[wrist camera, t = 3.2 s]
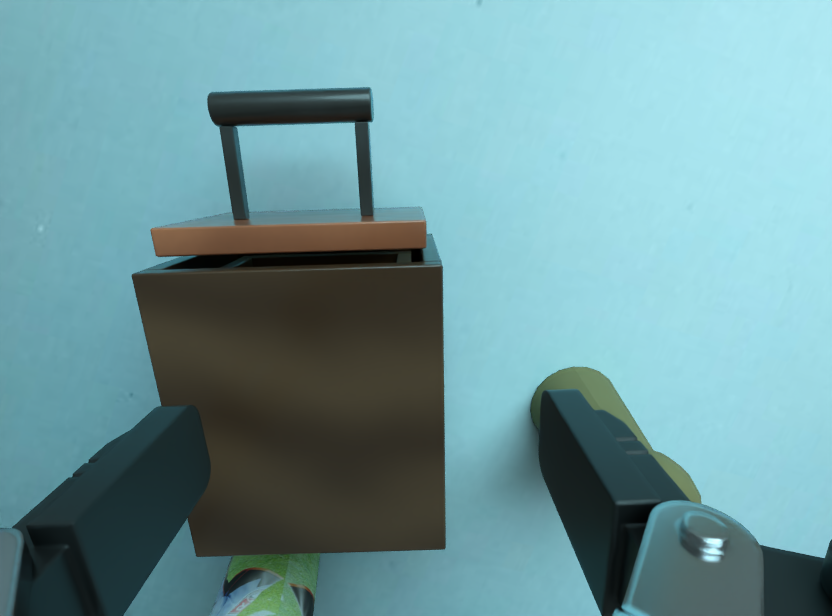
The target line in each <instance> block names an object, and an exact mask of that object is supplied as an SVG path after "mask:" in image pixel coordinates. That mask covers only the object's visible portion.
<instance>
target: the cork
mask: <svg viewBox="0 0 832 616" xmlns="http://www.w3.org/2000/svg"><path fill="white" fill-rule="evenodd" d="M561 389H578V390H579V391H580V392H581V393H582V395H583V396H584V397H585V399H586V400H587V401H588V403H589V404H590V405H591V407H592V408H593V409H594V410H605V411H607V412H609V413H610V414H612V415H614V416H615V417H617V418H618V419H620V420H622V421H623V422H625V424H626V425H627V426H628V427H629V428H630V430H631V431H632V432H633V433H634V434H635V435H636V437H637V440H638V441H641V443H642V444H643V445H644V446H645V447H646V449H647V450H648V453H649V454H652V456H653V457H654V458H655V459H656V460H657V462H658V463H659V464H660V465H661V466H662V468H663V469H664V470H665V471H666V472H667V474H668V475H669V476H670V477H671V478H672V479H673V481H674V482H675V483H676V484H677V485H678V487H679V488H680V489H681V490H682V491H683V493H684V494H685V495H686V496H687V497H688V498H689V500H690V501H691V502H695V503H700V504H701V496H700V494H699V492H698V490H697V488H696V486H695V484H694V482H693V481H692V479H691V477H690V475H689V474H688V473H687V472H686V471H685V470H684V469H683V468H682V467H681V466H680V465H678V464H677V463H676V462H674V461H673V460H672V459H670V458H669V457H667V456H665V455H664V454H662V453H659V452H656V451H654V450H653V449H652V447H651V446H650V444H649V442H648V441H647V439H646V438H645V436H644V434H643V433H642V431H641V430H640V428H639V426H638V425H637V423H636V422H635V420H634V418H633V417H632V415H631V414H630V412H629V410H628V409H627V407H626V406H625V404H624V402H623V401H622V399H621V398H620V396H619V394H618V393H617V391H616V390H615V388H614V386H613V385H612V383H611V382H610V380H609V379H608V378H607V377H606V376H604V375H603V374H602V373H601V372H599V371H596V370H593V369H591V368H588V367H570V368H567V369H563V370H559V371H557V372H556V373H554V374H552V375H551V376H549V377H547V378H546V379H545V380H544V381H543V382H542V383H541V384H540V385H539V387H538V388H537V390H536V392H535V394H534V396H533V398H532V403H531V415H532V419H533V423H534V424H535V425H536V427H537V428H538V430H539V428H540V406H541V395H542V392H543V391H544V390H561Z"/></svg>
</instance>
